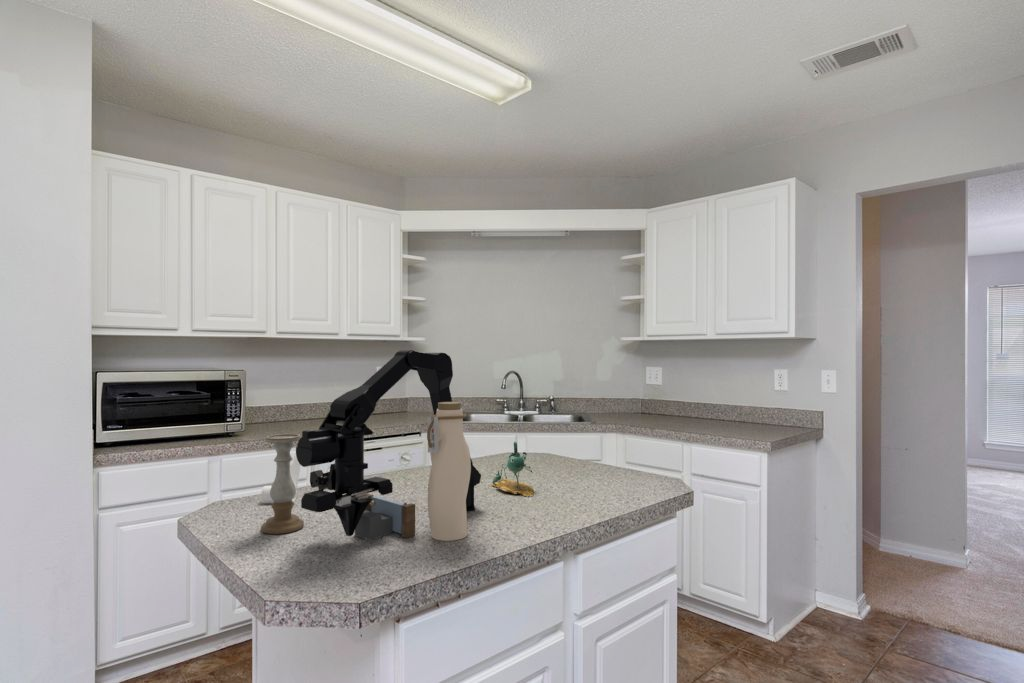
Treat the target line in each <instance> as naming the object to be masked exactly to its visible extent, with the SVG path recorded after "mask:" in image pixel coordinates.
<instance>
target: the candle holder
mask: <svg viewBox="0 0 1024 683" xmlns="http://www.w3.org/2000/svg"><path fill="white" fill-rule="evenodd" d="M301 437H302V434H298V433H282V434H281V433H279V434H272V435H271V434H270V435H267V436H265V437H264V442H265V443H268V444H273V445H272V447H273V449H274V450H275V452H276V456H275V458H274V459H273V461H274V462H275V463H276V464H275V465H276V471H275V472H276V473H275V477H274V481H273V482H272V485H271V486H272V487H271V489H270V497H271V499H272V500H273V501H274V503H273V504H271V505H270V507H271V509H272V510H273V512H274V514H273V516H270V517H268V518H267V519H266V521H265V522H264V523H262V524H261V525H260V531H261V532H262V533H264V534H267V535H268V534H269V535H281V534H288V533H293V532H296V531H299V530H301V529H302V528H303V527H304V526H305V521H304V520H303V519H302V518H300V516H299V515H297V514H293V513H292V510H293V508H294V506H295V501H294V502H292V499H293V498H294V496H295V495H296V496H297V492H296V487H295V484H294V482H293V480H292V478H291V474H290V461H291V462H292V461H293V460H294V457H292V455H291V451H292V448H294V443H295V442H298V441H299V440H300V438H301ZM290 455H291V456H290Z"/></svg>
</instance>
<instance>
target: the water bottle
mask: <svg viewBox="0 0 1024 683" xmlns="http://www.w3.org/2000/svg"><path fill="white" fill-rule="evenodd" d="M463 412H464V410H463V408H462V402H460V401H452V402H439V403H438V409H437V412H436V414H435V415H434V414H433V416H430V417H429V416H427V433H426V439H427V453H430V462H431V467H430V471H429V476H428V484H427V508H428V510H427V512H428V520H429V525H430V536H431V538H433V539H434V540H436V541H442V542H444V541H445V542H446V541H447V542H451V541H457V540H462V539H464V538H466V537H467V536H468V519H467V517H468V516H467V510H466V497H467V492H468V486H469V480H470V473H471V460H472V458H471V459H470V457H471V452H470V447H469V445H468V443H467V441H466V439H465V436H464V419H465V418H467V417H468V415H467V414H466V413H463Z"/></svg>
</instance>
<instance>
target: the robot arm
mask: <svg viewBox="0 0 1024 683" xmlns="http://www.w3.org/2000/svg"><path fill="white" fill-rule="evenodd" d="M410 371H416V372H417V374H418V378H419V379H420V381H421V383H422V384H423V385H424V386H425V388H426V389H427V390H428V393H429V398H430V401H431V407H432V410H433V411H432V412H433V416H434V415H435V414H436V412H437V409H438V403H439V402H453V398H452V394H451V393H452V392H451V389H450V385H451V383H452V379H453V377H454V370H453V361H452V358H451V356H450V355H448V354H447V353H446V352H419V351H415V350H413V349H402V350H401V349H400V350H399V351H397V352H395V354H394V356H393V357H392V358H390V359H389V360H388V361H387V362H386V363H385V364H384V365H383V366H381V368H380V369H378V370H377V371H375V373H374V374H373V375H371V376H370V377H369V378H368V379H367V380H366V381H364V383H363V384H361V385H360V386H359V387H357V388H354V389H352V390H349V391H346V392H345V393H343V394H342V395H340V396H338V397H336V398H335V399H334V400H333V401H332V402H331V404H330V406H329V407H330V410H329V412H328V413H327V415H326V416H325V418H324V419H323V421H322V423H321V425H320V426H319V427H318V429H314V430H309V429H307V430H302V432H301V436H302V437H301V438H300V440H299V441H297V444H296V447H295V454H296V456H297V460H298V462H299V464H300V467H303V468H306V467H311V466H313V467H314V466H316V465H322V464H329V463H330V466H329V471H328V472H323V470H322V469H318V470H313V471H312V472H310V473H309V484H310V487H311V488H313V489H314V488H318V489H317V490H314V491H310V492H305V493H304V494H303V495H302V497H301V500H300V501H301V502H300V504H301V505H300V506H301V507H300V508H301V509H304V510H307V511H311V512H314V513H323V512H326V511H329V510H333V509H334V511H335V512H336V514H337V515H338V517H339V519H340V522H341V525H342V528H343V531H344V534H345V535H346V537H351V536H353V535H354V534H355V529H356V527H357V525H358V522H359V520H360V518H361V516H362V514H363V513H364V511H365V509H366V507H367V505H368V504H369V503H371V502H372V499H368V498H367V494H371V493H372V492H377V491H378V493H379V494H380V495H382V496H384V495H388V494H392V493H393V492H394V490H393V489H394V488H393V487H394V486H393V483H392V481H391V480H390V479H389V478H386V477H379V476H373V477H369V478H365V477H364V476H365V470H367V469H369V463H368V462H365V458H364V456H365V449H364V448H365V447H364V446H365V436H371V435H373V434H374V431H373V430H372V429H370V427H368V426H367V424H366V422H367V421H368V420H369V418H370V417H371V416H372V414H374V412H375V409H376V406H377V403H378V402H379V400H380V399H381V398H383V396H384V395H386V393H387V392H389V390H391V389H392V388H393V387H394V386H395V385H396V384H398V382H399V381H401V379H402V378H404V377H405V376H406V374H407V373H408V372H410ZM470 459H471V473H470V480H469V486H468V492H467V497H466V511H475V510H476V505H475V486H477V485H479V484H480V483H481V479H482V474H481V473H480V471H479V470H478V469H477V468H476V467H475V466H474V463H473V460H472V458H471V456H470ZM333 462H334V463H333ZM327 490H329V491H327ZM330 491H332V492H330Z"/></svg>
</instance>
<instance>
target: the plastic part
mask: <svg viewBox="0 0 1024 683" xmlns="http://www.w3.org/2000/svg"><path fill="white" fill-rule="evenodd" d="M290 456H291V457H292V455H291V454H290ZM291 462H292V463H291ZM300 471H301V465H300V464H299V462H298V460H297V456H296V453H295V454H294V457H293V460H291V461H290V474H291V478H292V480H293V482H294V484H295V487H296V493H297V490H298V484H299V477H300ZM271 487H272V485H264V486H263V487H262V490H261V494H260V496H261V497H260V498H261V503H262V504H263V505H265V504H266V505H269V504H271V505H272V504H273V503H274V501H273V500H272V499H271V497H270V489H271ZM296 497H297V494H296V495H295V496H294V498H293V499H292V502H294V503H295V501H296Z"/></svg>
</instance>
